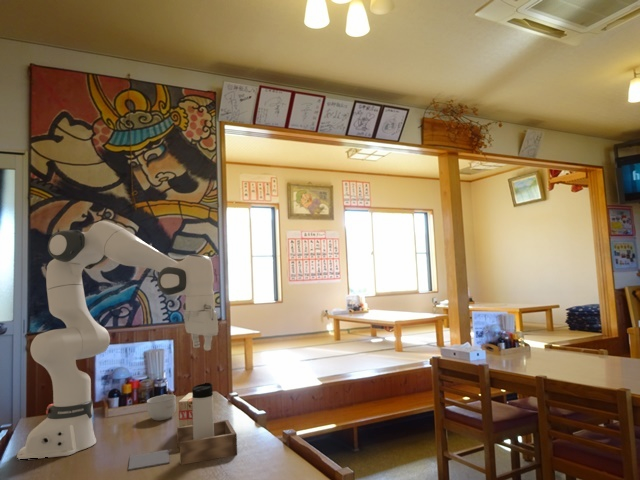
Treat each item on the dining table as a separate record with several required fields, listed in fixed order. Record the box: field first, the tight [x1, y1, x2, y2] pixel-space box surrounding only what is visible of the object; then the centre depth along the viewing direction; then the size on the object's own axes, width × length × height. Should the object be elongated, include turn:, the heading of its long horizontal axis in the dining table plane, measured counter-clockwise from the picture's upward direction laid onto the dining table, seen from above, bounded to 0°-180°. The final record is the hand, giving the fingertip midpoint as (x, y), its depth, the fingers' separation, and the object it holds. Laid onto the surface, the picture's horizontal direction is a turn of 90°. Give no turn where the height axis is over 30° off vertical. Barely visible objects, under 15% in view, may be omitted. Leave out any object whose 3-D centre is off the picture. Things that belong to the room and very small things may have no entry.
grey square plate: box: [128, 449, 170, 471], centre depth 136 cm, size 11×11×1 cm
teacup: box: [146, 394, 177, 422], centre depth 182 cm, size 14×11×8 cm
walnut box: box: [176, 419, 238, 466], centre depth 142 cm, size 16×16×6 cm
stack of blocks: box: [178, 392, 193, 427], centre depth 166 cm, size 21×6×12 cm, turn 179°
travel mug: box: [191, 382, 215, 440], centre depth 142 cm, size 6×7×20 cm
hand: (201, 348), depth 144 cm, fingers open, 8 cm apart
